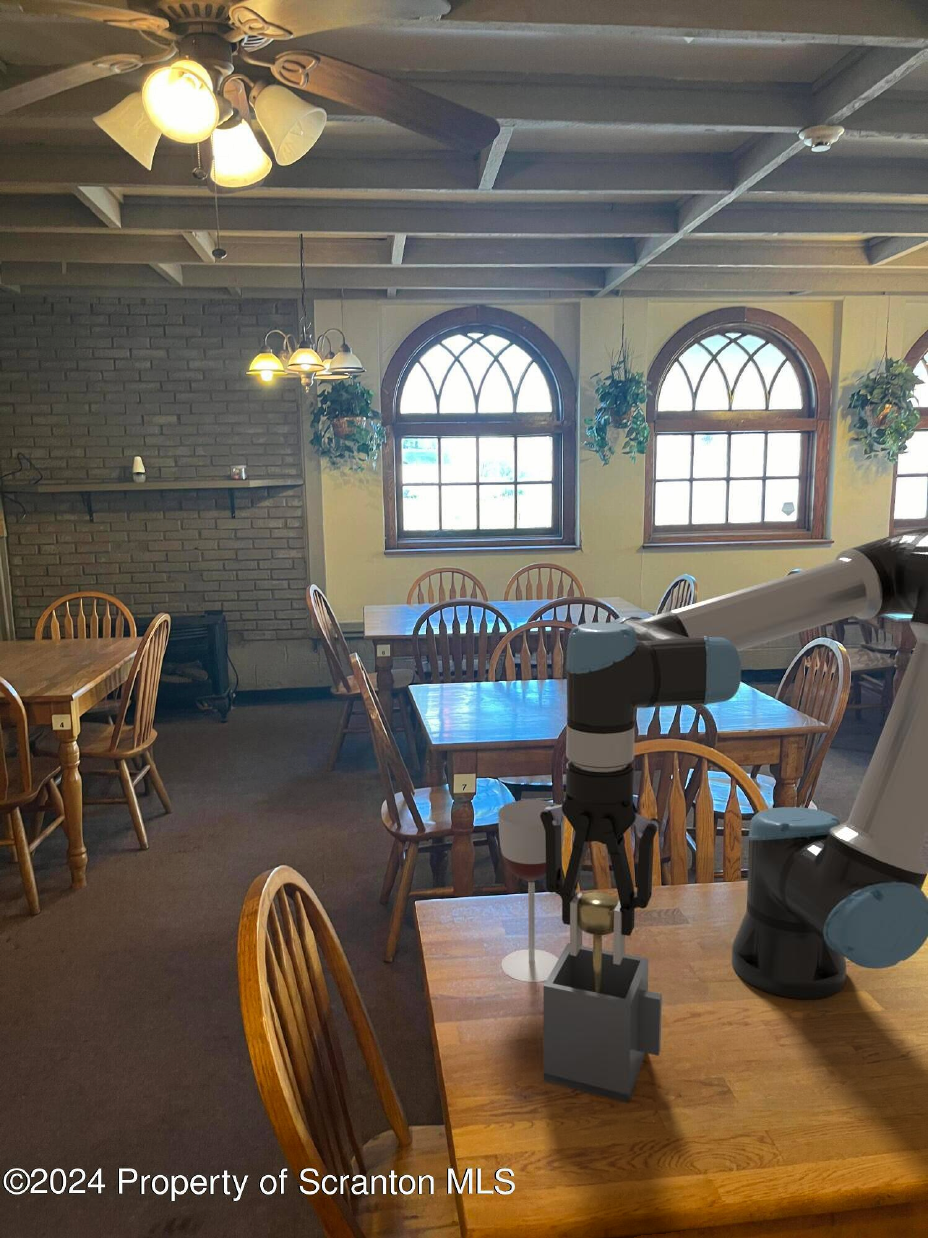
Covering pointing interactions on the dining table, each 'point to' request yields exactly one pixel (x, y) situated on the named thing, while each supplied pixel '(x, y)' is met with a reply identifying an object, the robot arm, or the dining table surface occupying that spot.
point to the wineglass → (526, 878)
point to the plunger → (597, 926)
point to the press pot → (599, 1024)
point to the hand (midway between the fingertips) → (597, 953)
